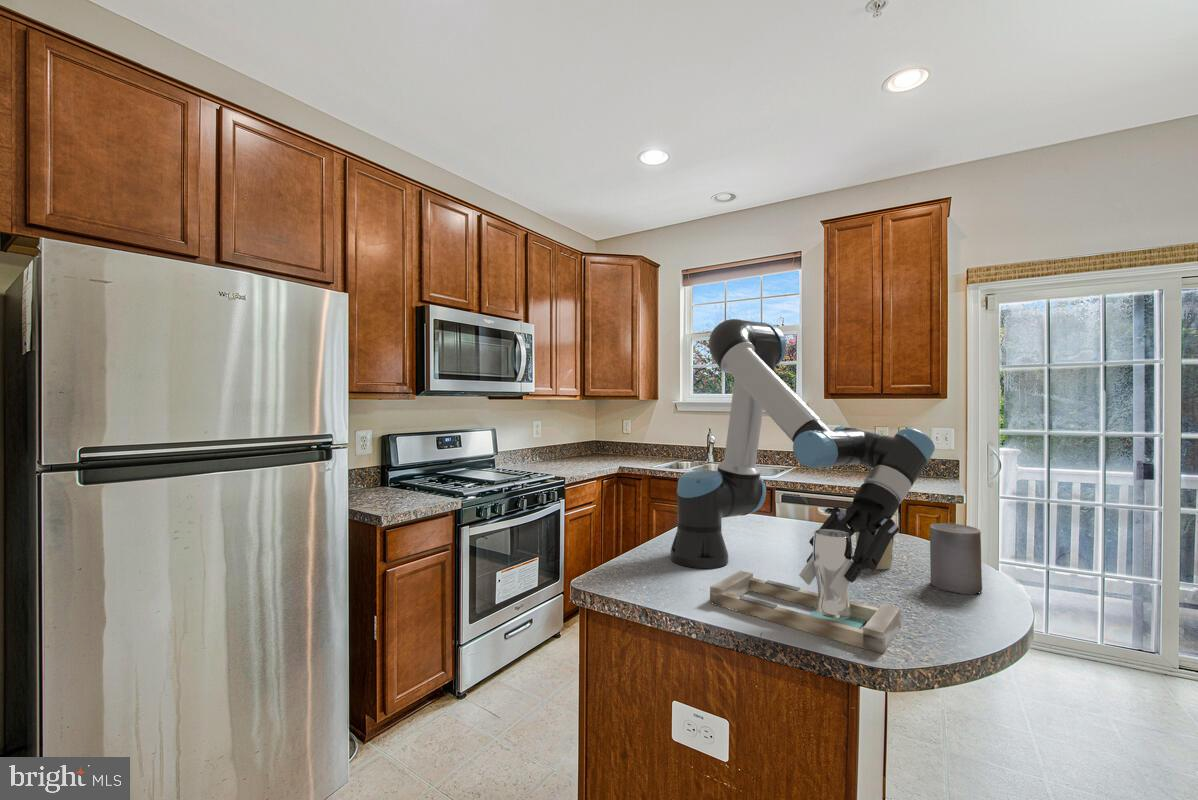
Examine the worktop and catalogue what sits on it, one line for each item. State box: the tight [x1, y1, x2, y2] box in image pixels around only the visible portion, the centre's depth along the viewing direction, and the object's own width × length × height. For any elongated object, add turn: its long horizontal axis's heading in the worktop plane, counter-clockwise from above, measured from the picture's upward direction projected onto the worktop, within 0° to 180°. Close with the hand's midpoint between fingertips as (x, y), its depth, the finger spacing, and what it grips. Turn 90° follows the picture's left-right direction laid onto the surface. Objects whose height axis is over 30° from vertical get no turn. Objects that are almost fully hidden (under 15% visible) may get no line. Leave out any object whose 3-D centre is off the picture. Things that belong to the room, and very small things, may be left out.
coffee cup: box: [855, 529, 895, 570], centre depth 132 cm, size 9×9×12 cm
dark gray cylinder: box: [929, 521, 983, 595], centre depth 116 cm, size 10×10×15 cm
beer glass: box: [812, 528, 854, 619], centre depth 96 cm, size 7×7×15 cm
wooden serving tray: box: [709, 570, 902, 655], centre depth 99 cm, size 32×14×4 cm, turn 49°
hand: (818, 585), depth 94 cm, fingers closed on beer glass, 6 cm apart
